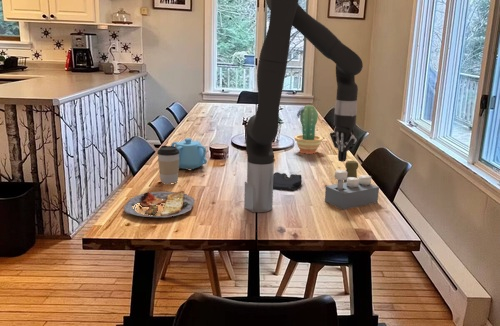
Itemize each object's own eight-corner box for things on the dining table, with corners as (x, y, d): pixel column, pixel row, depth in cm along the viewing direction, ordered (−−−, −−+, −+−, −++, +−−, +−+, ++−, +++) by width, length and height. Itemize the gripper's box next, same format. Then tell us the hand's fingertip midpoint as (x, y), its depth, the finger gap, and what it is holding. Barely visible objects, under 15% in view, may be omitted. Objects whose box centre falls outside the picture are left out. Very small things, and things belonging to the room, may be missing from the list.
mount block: (342, 209, 161) (343, 193, 159) (324, 201, 169) (325, 186, 168) (377, 202, 169) (379, 187, 168) (358, 194, 177) (360, 179, 176)
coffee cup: (184, 182, 188) (184, 147, 185) (167, 186, 182) (165, 150, 178) (171, 177, 194) (170, 143, 190) (153, 181, 188) (152, 146, 184)
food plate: (137, 194, 172) (137, 186, 171) (198, 197, 171) (198, 188, 170) (116, 222, 148) (116, 212, 147) (187, 225, 147) (187, 215, 146)
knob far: (363, 200, 169) (364, 179, 167) (354, 197, 173) (356, 176, 170) (371, 199, 171) (373, 177, 169) (363, 195, 175) (365, 174, 173)
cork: (346, 183, 191) (348, 158, 188) (360, 186, 187) (362, 161, 184) (339, 187, 186) (341, 161, 183) (353, 190, 183) (355, 163, 180)
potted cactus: (306, 147, 255) (308, 102, 248) (328, 152, 244) (331, 106, 237) (287, 151, 245) (289, 105, 238) (309, 156, 234) (312, 108, 227)
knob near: (338, 196, 162) (340, 174, 160) (330, 193, 166) (332, 170, 164) (348, 194, 164) (350, 172, 162) (340, 191, 168) (341, 169, 166)
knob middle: (350, 203, 166) (352, 181, 164) (342, 199, 170) (344, 178, 168) (359, 201, 168) (361, 179, 166) (351, 197, 172) (353, 176, 170)
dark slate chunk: (253, 177, 199) (254, 167, 197) (303, 182, 193) (304, 171, 192) (244, 187, 184) (244, 176, 183) (298, 193, 179) (298, 181, 178)
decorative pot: (170, 163, 217) (169, 135, 214) (203, 161, 220) (203, 134, 217) (171, 172, 202) (170, 143, 198) (207, 171, 205) (207, 141, 202)
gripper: (324, 110, 161) (322, 158, 166) (350, 116, 150) (346, 166, 155) (341, 109, 165) (337, 155, 169) (367, 115, 154) (362, 164, 158)
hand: (341, 161), depth 162 cm, fingers closed
